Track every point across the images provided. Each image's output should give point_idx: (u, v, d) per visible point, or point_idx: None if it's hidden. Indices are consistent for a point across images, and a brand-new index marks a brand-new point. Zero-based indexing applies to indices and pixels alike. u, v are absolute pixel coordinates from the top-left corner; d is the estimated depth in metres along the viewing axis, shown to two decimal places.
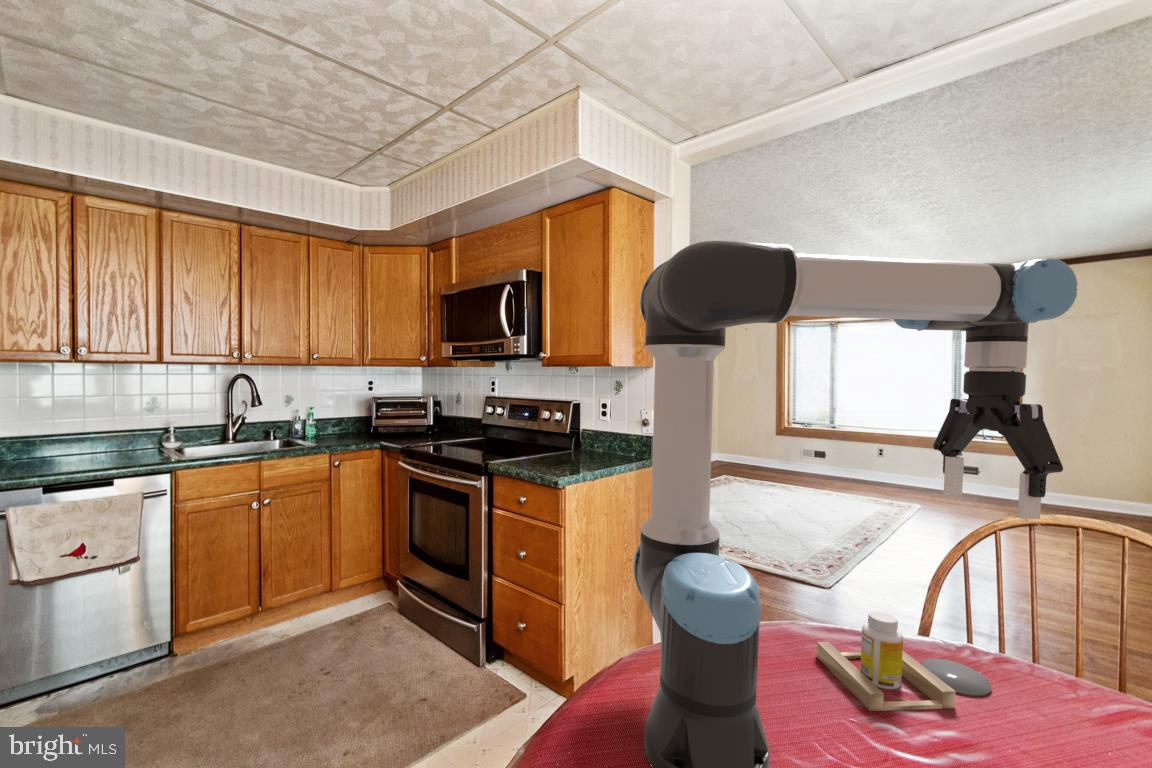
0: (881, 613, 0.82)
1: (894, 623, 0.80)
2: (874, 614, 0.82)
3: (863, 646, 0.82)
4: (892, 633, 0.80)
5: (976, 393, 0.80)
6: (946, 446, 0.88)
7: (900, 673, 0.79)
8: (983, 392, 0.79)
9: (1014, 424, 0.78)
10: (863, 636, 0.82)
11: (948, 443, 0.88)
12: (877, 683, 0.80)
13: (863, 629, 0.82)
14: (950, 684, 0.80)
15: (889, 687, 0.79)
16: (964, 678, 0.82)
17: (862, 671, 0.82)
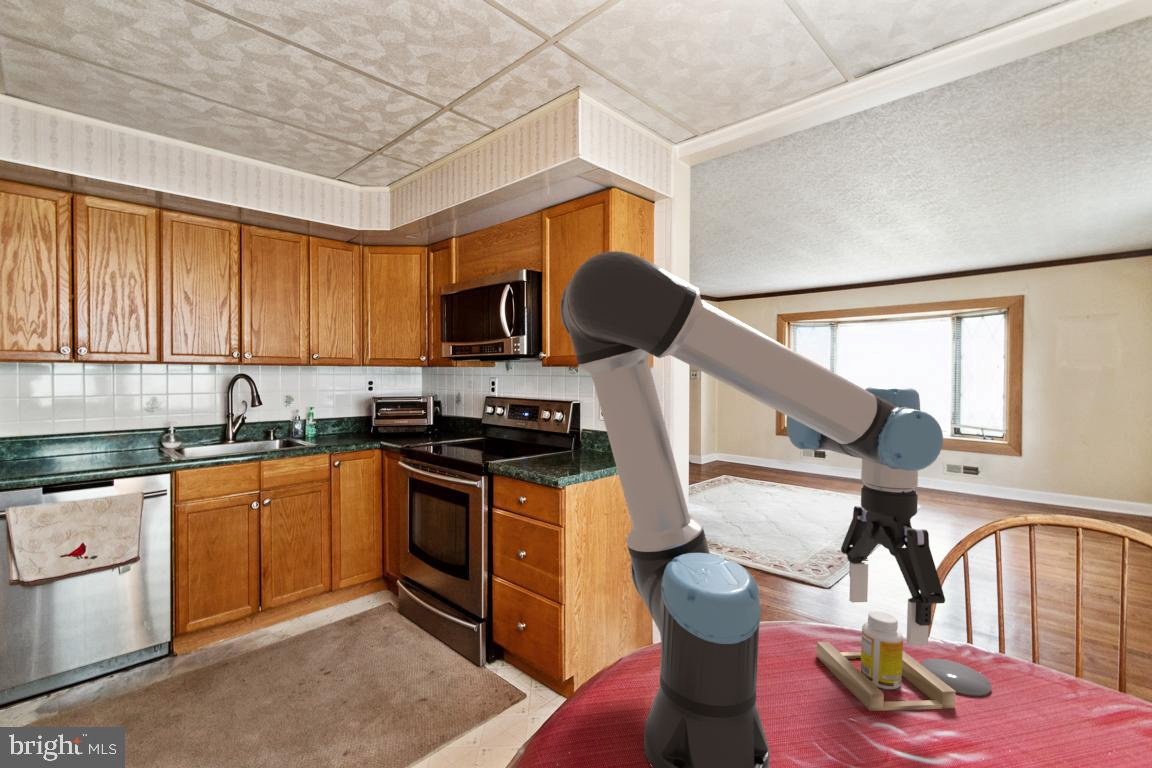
0: (881, 613, 0.82)
1: (894, 623, 0.80)
2: (874, 614, 0.82)
3: (863, 646, 0.82)
4: (892, 633, 0.80)
5: (870, 511, 0.80)
6: (851, 552, 0.88)
7: (900, 673, 0.79)
8: (875, 511, 0.79)
9: (906, 543, 0.78)
10: (863, 636, 0.82)
11: (852, 550, 0.88)
12: (877, 683, 0.80)
13: (863, 629, 0.82)
14: (950, 684, 0.80)
15: (889, 687, 0.79)
16: (964, 678, 0.82)
17: (862, 671, 0.82)
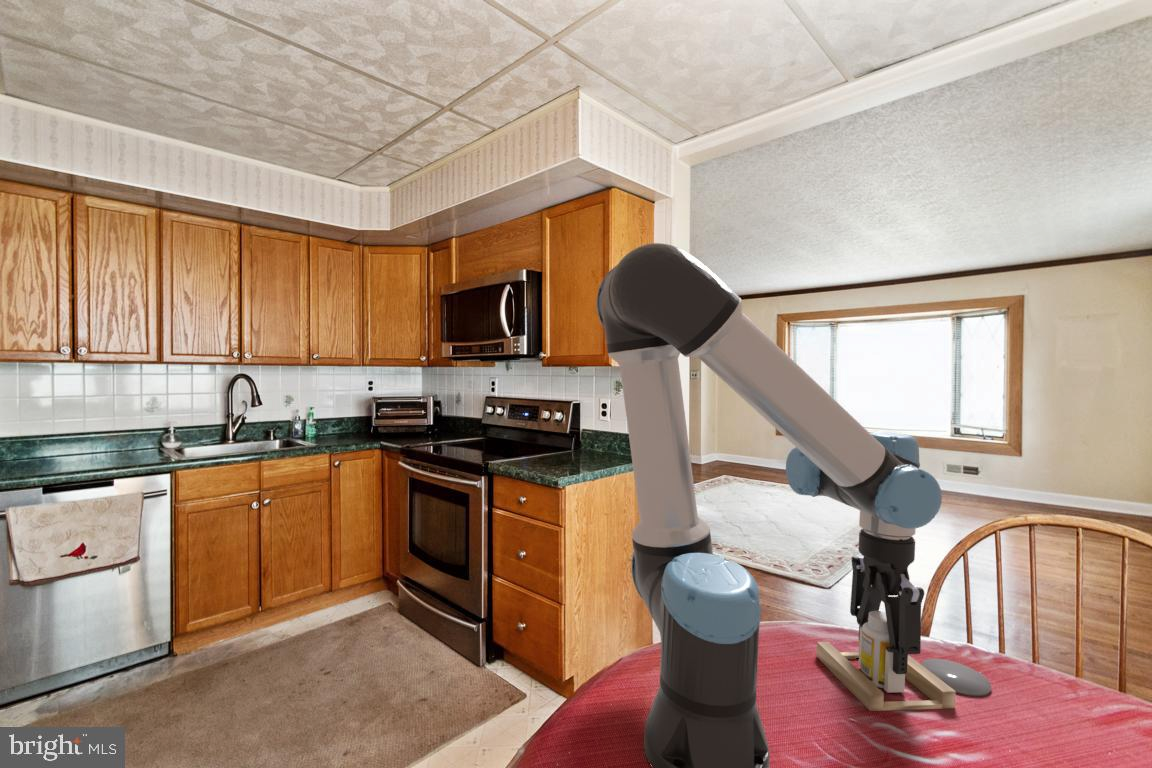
0: (881, 613, 0.82)
1: None
2: (874, 614, 0.82)
3: (863, 646, 0.82)
4: None
5: (867, 557, 0.80)
6: (859, 614, 0.85)
7: None
8: (872, 558, 0.79)
9: None
10: (863, 636, 0.82)
11: (860, 610, 0.85)
12: (877, 683, 0.80)
13: (863, 629, 0.82)
14: (950, 684, 0.80)
15: None
16: (964, 678, 0.82)
17: (862, 671, 0.82)
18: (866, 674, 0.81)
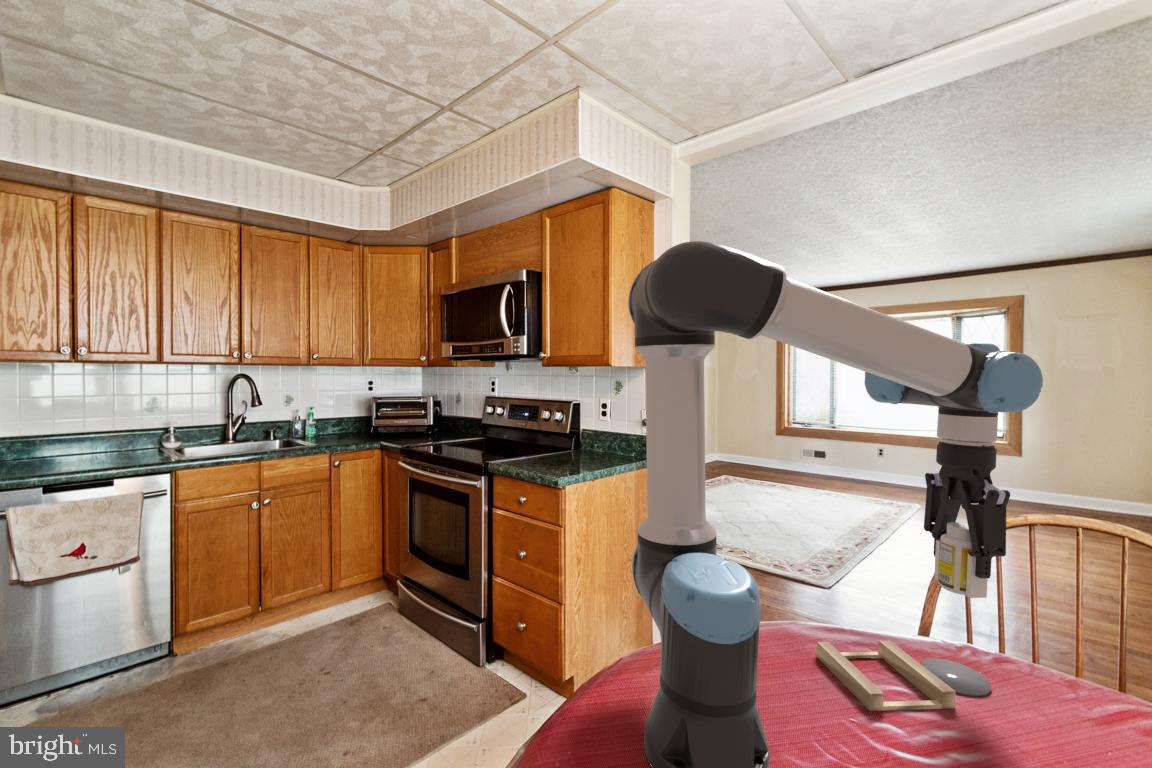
0: (960, 523, 0.83)
1: None
2: (953, 524, 0.82)
3: (942, 555, 0.82)
4: None
5: (948, 466, 0.81)
6: (935, 528, 0.86)
7: None
8: (954, 465, 0.80)
9: None
10: (942, 546, 0.82)
11: (935, 524, 0.86)
12: (958, 590, 0.80)
13: (942, 539, 0.83)
14: (950, 684, 0.80)
15: None
16: (964, 678, 0.82)
17: (941, 580, 0.82)
18: (946, 583, 0.81)
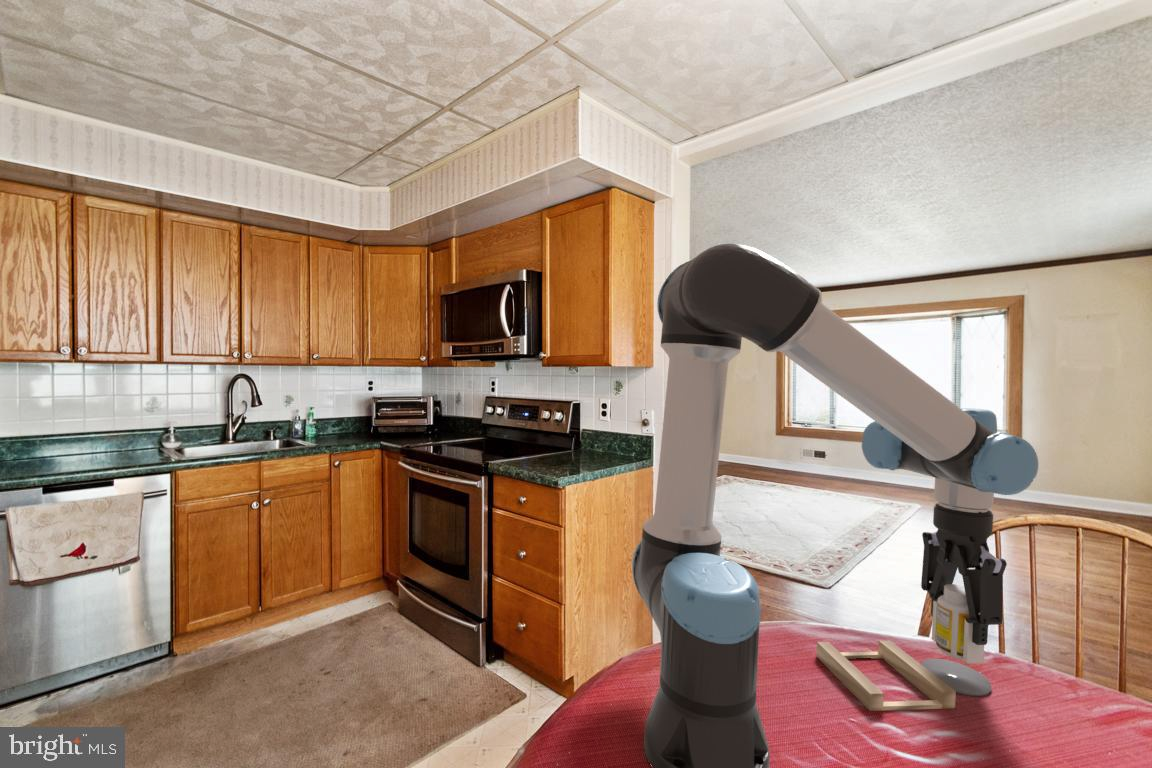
0: (957, 586, 0.83)
1: None
2: (950, 587, 0.83)
3: (939, 618, 0.83)
4: None
5: (944, 530, 0.81)
6: (932, 588, 0.86)
7: None
8: (951, 531, 0.80)
9: (982, 563, 0.80)
10: (939, 609, 0.83)
11: (933, 584, 0.86)
12: (955, 654, 0.80)
13: (939, 602, 0.83)
14: (950, 684, 0.80)
15: None
16: (964, 678, 0.82)
17: (938, 643, 0.83)
18: (943, 646, 0.82)
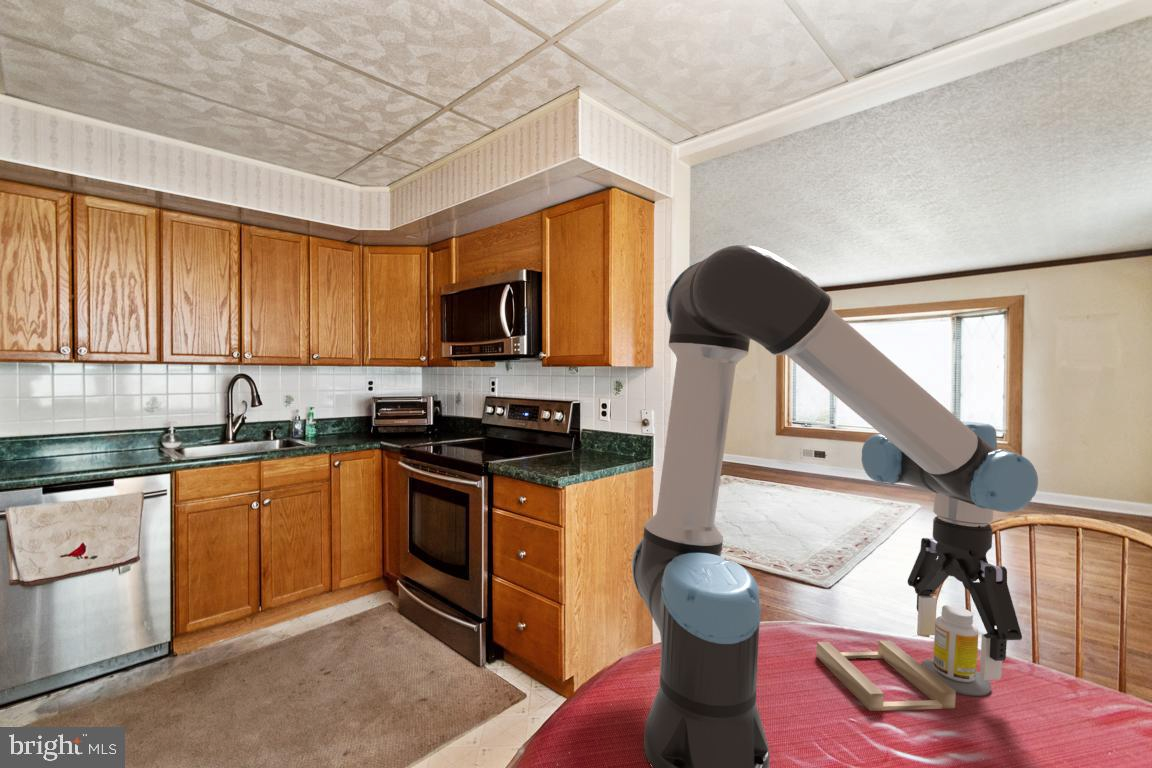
0: (955, 607, 0.84)
1: (970, 617, 0.81)
2: (948, 608, 0.83)
3: (937, 639, 0.83)
4: (968, 627, 0.81)
5: (944, 544, 0.81)
6: (919, 585, 0.89)
7: (975, 666, 0.81)
8: (950, 544, 0.80)
9: (981, 577, 0.80)
10: (937, 629, 0.83)
11: (921, 583, 0.89)
12: (952, 676, 0.81)
13: (937, 623, 0.83)
14: (950, 684, 0.80)
15: (965, 680, 0.80)
16: None
17: (936, 664, 0.83)
18: (940, 667, 0.82)
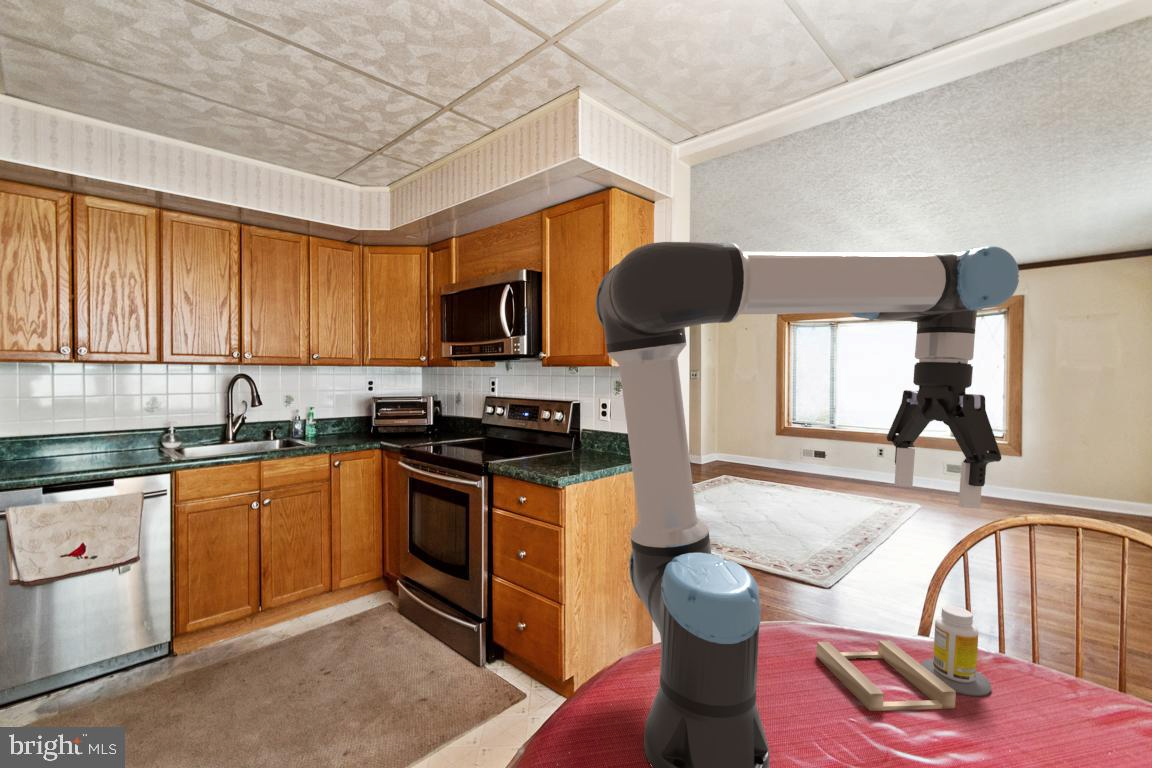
0: (955, 608, 0.83)
1: (970, 618, 0.81)
2: (948, 609, 0.83)
3: (937, 640, 0.83)
4: (967, 627, 0.81)
5: (924, 383, 0.81)
6: (898, 437, 0.89)
7: (975, 667, 0.81)
8: (930, 382, 0.80)
9: (960, 415, 0.79)
10: (937, 630, 0.83)
11: (900, 434, 0.89)
12: (952, 676, 0.81)
13: (937, 623, 0.83)
14: (950, 684, 0.80)
15: (964, 680, 0.80)
16: None
17: (935, 664, 0.83)
18: (940, 667, 0.82)
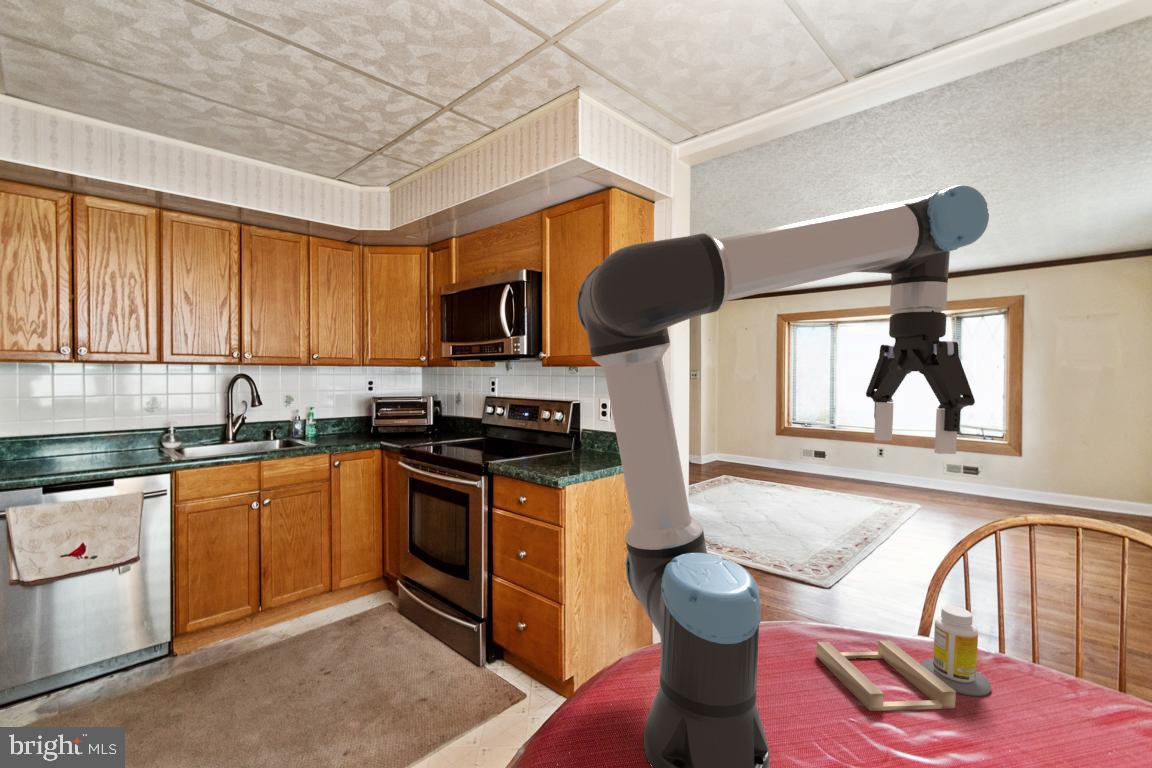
0: (954, 608, 0.83)
1: (969, 618, 0.81)
2: (947, 609, 0.83)
3: (936, 640, 0.83)
4: (967, 627, 0.81)
5: (899, 334, 0.81)
6: (876, 392, 0.90)
7: (975, 667, 0.81)
8: (904, 332, 0.80)
9: (935, 364, 0.80)
10: (936, 630, 0.83)
11: (878, 389, 0.89)
12: (952, 676, 0.81)
13: (936, 623, 0.83)
14: (950, 684, 0.80)
15: (964, 680, 0.80)
16: None
17: (935, 664, 0.83)
18: (940, 668, 0.82)
